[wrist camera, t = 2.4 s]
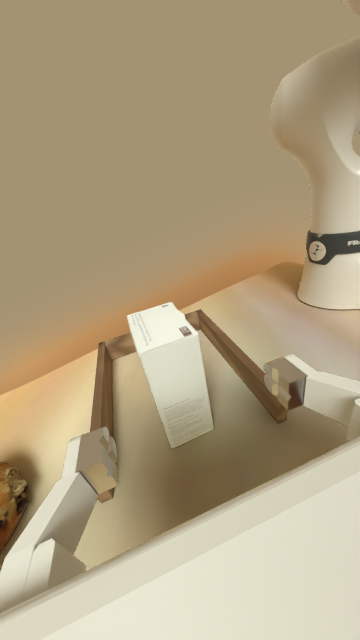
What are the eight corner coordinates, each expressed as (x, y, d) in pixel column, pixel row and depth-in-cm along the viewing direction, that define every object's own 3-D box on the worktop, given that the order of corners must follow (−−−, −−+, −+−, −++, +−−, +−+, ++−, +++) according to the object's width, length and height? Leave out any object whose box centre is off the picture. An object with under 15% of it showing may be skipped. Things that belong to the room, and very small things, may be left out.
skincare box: (156, 401, 32) (122, 314, 25) (193, 385, 33) (171, 298, 26) (173, 454, 24) (132, 352, 17) (219, 431, 26) (199, 327, 19)
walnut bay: (203, 325, 48) (200, 309, 46) (286, 419, 25) (287, 396, 23) (106, 358, 44) (98, 343, 42) (101, 503, 22) (84, 483, 20)
